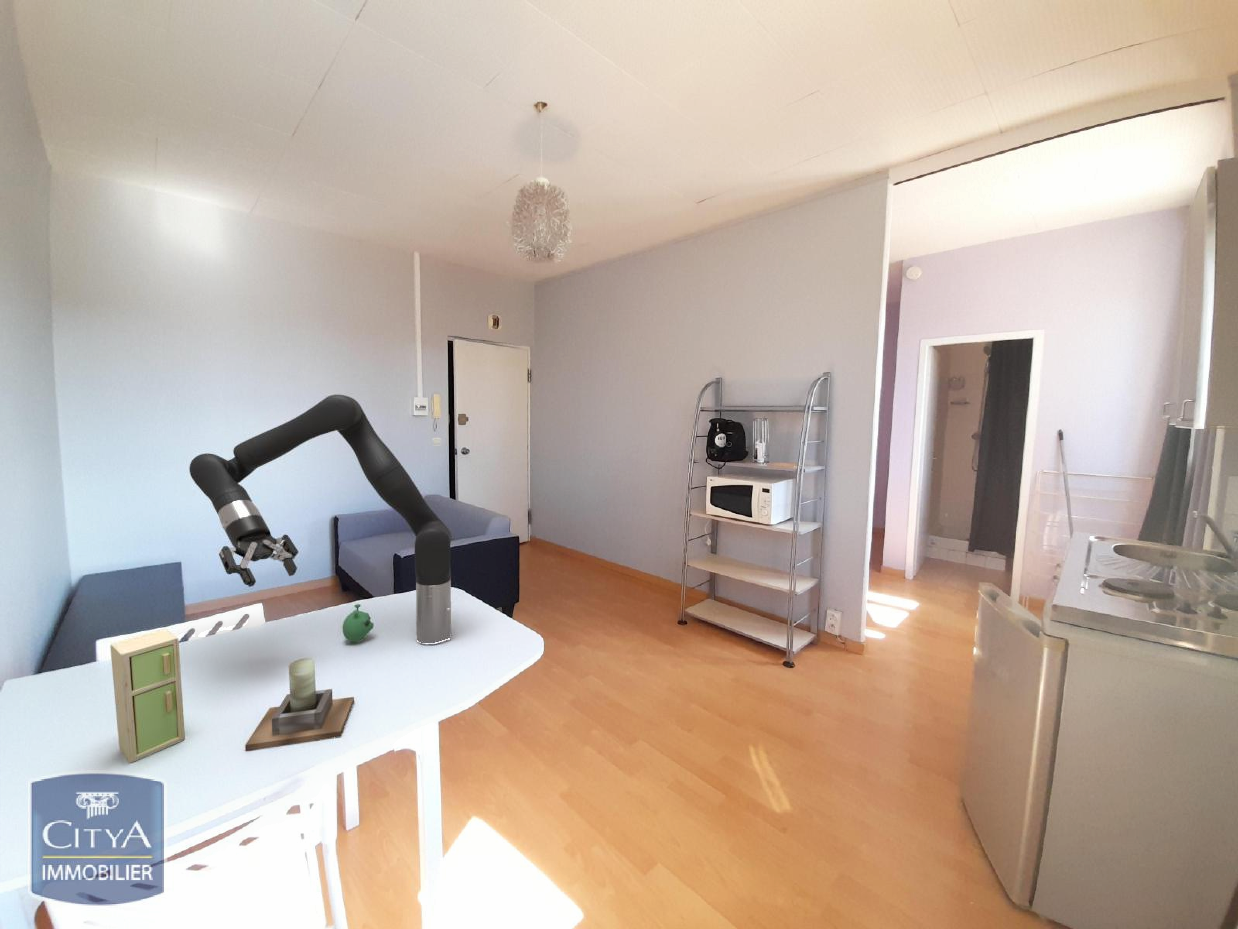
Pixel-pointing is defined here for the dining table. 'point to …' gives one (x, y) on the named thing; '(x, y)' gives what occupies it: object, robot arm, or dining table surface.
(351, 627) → the alien toy
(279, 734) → the jig
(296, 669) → the pale green cylinder
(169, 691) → the toy refrigerator
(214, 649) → the dining table surface
